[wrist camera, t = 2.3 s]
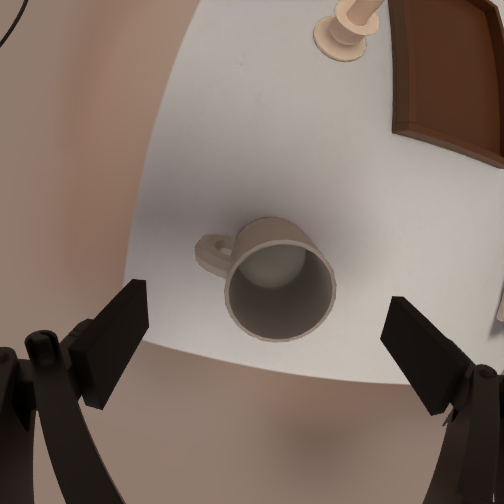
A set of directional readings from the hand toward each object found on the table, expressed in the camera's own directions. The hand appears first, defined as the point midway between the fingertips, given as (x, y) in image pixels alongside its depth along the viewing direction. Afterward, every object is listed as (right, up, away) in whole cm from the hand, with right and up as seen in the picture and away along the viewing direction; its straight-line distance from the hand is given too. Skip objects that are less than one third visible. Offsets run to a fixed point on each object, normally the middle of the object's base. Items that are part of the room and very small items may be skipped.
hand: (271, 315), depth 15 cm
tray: (+21, +25, +6) cm, 34 cm away
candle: (+7, +23, +7) cm, 25 cm away
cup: (-1, +3, +12) cm, 13 cm away
